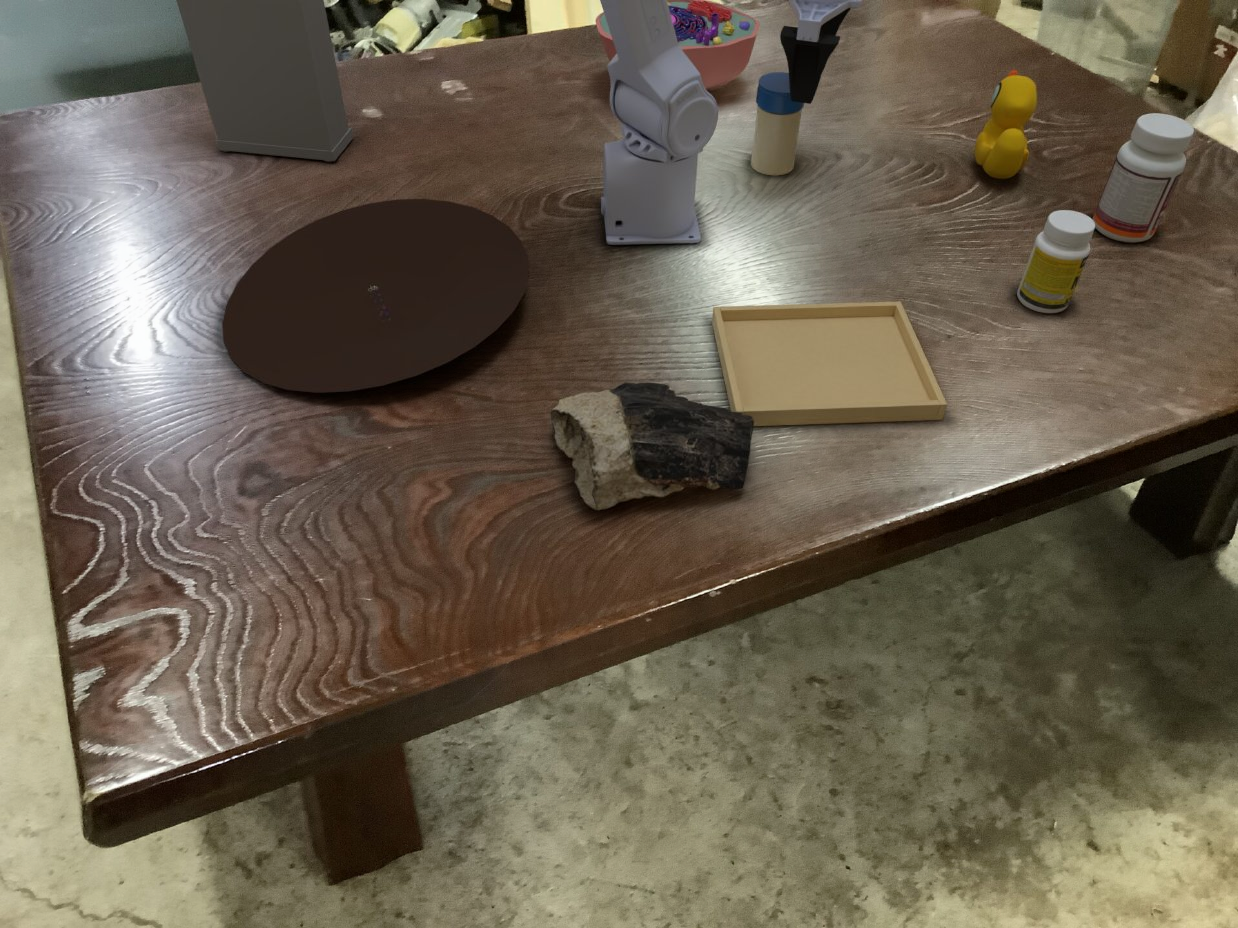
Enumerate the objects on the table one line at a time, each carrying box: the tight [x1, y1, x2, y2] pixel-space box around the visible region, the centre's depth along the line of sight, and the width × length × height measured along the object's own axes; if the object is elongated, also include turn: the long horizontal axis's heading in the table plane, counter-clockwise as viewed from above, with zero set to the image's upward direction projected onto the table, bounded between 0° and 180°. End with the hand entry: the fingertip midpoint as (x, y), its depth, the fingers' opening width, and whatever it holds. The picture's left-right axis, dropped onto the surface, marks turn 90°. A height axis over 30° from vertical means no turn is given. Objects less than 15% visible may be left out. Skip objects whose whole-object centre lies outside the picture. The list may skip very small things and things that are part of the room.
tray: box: [711, 301, 948, 427], centre depth 84 cm, size 17×14×2 cm
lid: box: [755, 71, 805, 114], centre depth 104 cm, size 5×5×2 cm
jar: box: [750, 104, 803, 176], centre depth 107 cm, size 5×5×9 cm
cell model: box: [595, 0, 761, 91], centre depth 120 cm, size 17×20×11 cm
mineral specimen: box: [550, 381, 755, 511], centre depth 75 cm, size 13×7×15 cm
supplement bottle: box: [1016, 209, 1096, 314], centre depth 89 cm, size 5×5×8 cm
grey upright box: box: [175, 0, 355, 163], centre depth 104 cm, size 14×6×25 cm, turn 80°
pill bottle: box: [1092, 112, 1195, 243], centre depth 97 cm, size 6×6×11 cm
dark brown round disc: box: [221, 198, 530, 394], centre depth 89 cm, size 28×28×4 cm
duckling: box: [974, 69, 1039, 180], centre depth 107 cm, size 11×5×10 cm, turn 168°
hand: (807, 86), depth 102 cm, fingers open, 7 cm apart
